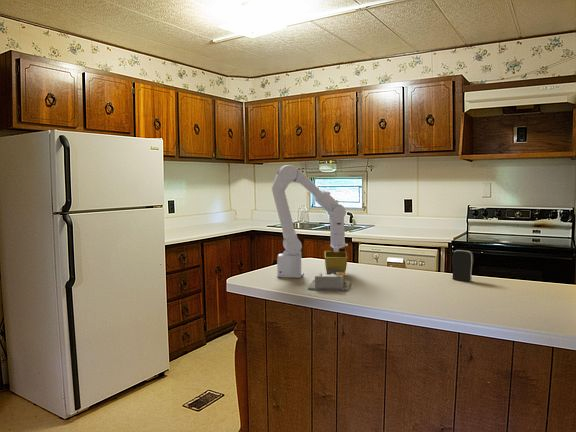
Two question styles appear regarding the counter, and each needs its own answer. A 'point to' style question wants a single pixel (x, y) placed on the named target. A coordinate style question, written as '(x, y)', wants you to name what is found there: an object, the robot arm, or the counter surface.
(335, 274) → the plunger
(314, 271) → the counter surface
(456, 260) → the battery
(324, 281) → the gauge housing
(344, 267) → the flower pot
